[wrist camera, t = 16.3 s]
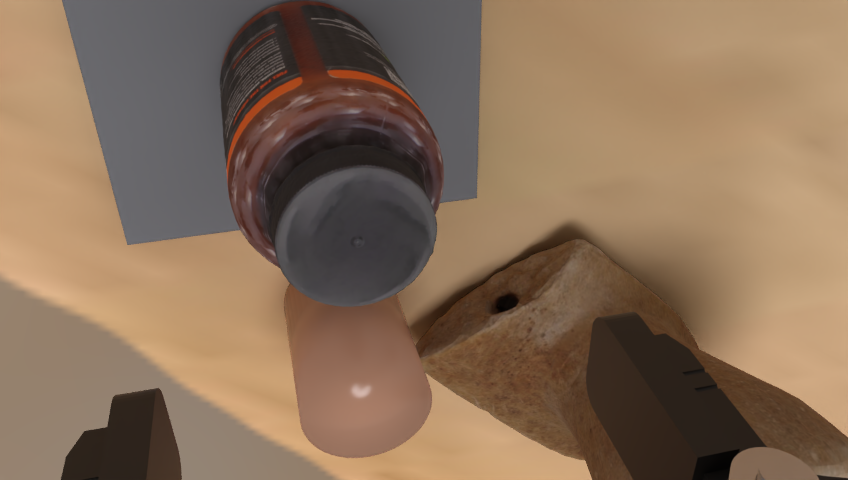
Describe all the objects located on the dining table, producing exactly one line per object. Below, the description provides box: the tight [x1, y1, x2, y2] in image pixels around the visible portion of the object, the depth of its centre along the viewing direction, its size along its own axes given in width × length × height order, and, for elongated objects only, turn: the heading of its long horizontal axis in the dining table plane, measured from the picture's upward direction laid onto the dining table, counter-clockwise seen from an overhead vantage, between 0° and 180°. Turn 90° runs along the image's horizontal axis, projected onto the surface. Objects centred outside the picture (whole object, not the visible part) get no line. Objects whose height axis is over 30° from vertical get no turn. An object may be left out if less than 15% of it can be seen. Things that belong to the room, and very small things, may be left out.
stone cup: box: [415, 239, 848, 480], centre depth 32 cm, size 15×12×15 cm
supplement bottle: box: [220, 1, 444, 307], centre depth 23 cm, size 6×6×11 cm
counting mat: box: [62, 0, 482, 245], centre depth 28 cm, size 14×12×1 cm
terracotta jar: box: [284, 283, 432, 458], centre depth 31 cm, size 5×5×7 cm
